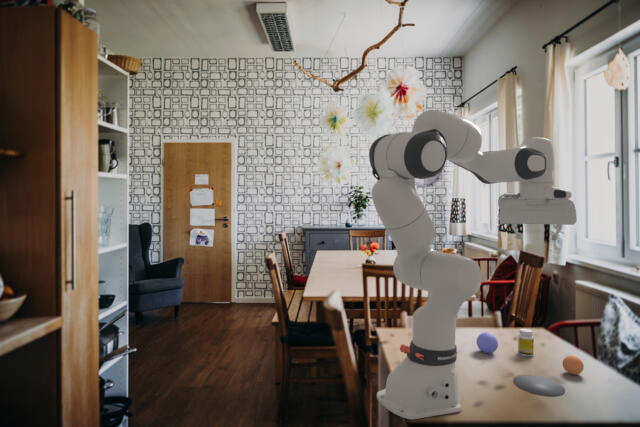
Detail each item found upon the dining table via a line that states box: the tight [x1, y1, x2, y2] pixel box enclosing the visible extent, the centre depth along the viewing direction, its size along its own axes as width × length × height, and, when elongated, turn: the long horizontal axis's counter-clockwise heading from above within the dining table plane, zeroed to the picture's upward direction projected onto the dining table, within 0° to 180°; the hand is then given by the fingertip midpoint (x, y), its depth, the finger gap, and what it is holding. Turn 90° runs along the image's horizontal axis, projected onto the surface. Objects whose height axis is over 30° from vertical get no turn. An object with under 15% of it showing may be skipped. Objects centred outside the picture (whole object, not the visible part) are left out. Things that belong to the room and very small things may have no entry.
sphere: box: [475, 332, 499, 354], centre depth 138 cm, size 7×7×7 cm
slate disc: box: [512, 374, 566, 397], centre depth 113 cm, size 13×13×1 cm
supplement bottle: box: [517, 328, 534, 357], centre depth 137 cm, size 5×5×8 cm
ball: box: [562, 355, 585, 376], centre depth 121 cm, size 6×6×6 cm
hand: (536, 239), depth 118 cm, fingers open, 8 cm apart
